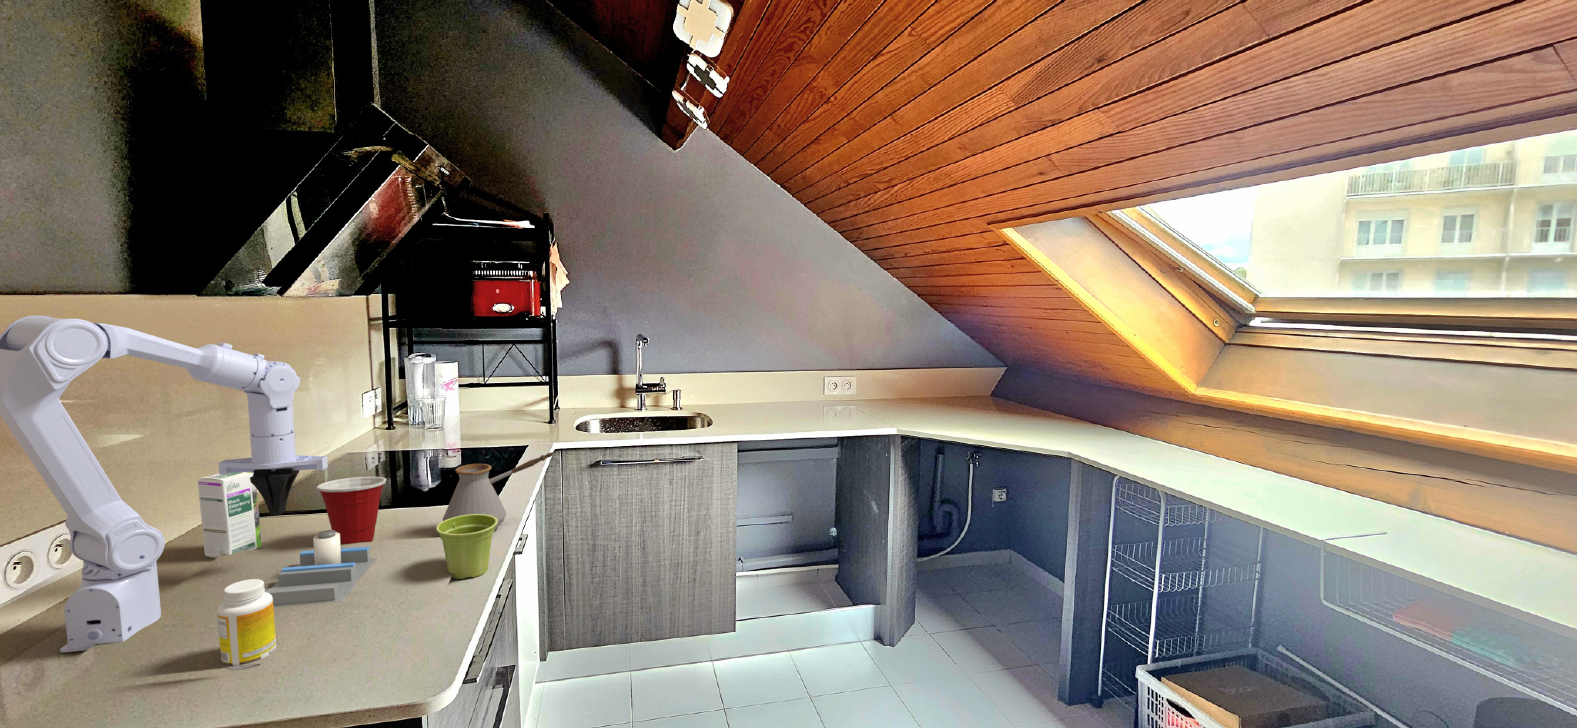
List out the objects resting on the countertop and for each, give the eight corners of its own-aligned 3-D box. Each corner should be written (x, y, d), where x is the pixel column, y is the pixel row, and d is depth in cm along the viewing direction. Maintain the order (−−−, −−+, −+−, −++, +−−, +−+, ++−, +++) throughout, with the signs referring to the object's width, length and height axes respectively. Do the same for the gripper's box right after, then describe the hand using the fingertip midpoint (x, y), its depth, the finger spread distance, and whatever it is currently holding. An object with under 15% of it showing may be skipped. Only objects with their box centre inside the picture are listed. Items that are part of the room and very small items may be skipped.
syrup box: (230, 560, 113) (223, 479, 112) (203, 556, 115) (196, 476, 113) (262, 547, 119) (257, 470, 117) (236, 544, 120) (230, 468, 118)
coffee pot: (440, 544, 123) (437, 467, 121) (445, 523, 133) (443, 452, 131) (559, 530, 131) (558, 458, 129) (555, 512, 142) (554, 445, 140)
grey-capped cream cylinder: (336, 574, 107) (334, 535, 106) (311, 576, 106) (309, 537, 105) (345, 565, 111) (343, 527, 110) (320, 566, 110) (318, 529, 109)
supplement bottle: (286, 647, 88) (282, 575, 87) (257, 671, 82) (252, 595, 81) (242, 648, 87) (236, 576, 86) (209, 673, 82) (203, 596, 80)
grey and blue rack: (341, 607, 99) (340, 586, 98) (248, 615, 96) (246, 594, 95) (377, 563, 114) (376, 545, 114) (298, 568, 111) (297, 550, 110)
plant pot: (510, 564, 115) (509, 517, 114) (471, 588, 106) (469, 537, 105) (466, 557, 118) (465, 511, 117) (424, 579, 109) (422, 529, 108)
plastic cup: (396, 529, 129) (393, 470, 128) (380, 550, 119) (377, 487, 118) (332, 534, 126) (329, 474, 125) (310, 556, 116) (306, 491, 114)
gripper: (333, 426, 112) (337, 502, 114) (233, 429, 108) (239, 507, 110) (315, 436, 105) (320, 516, 107) (208, 439, 102) (215, 522, 103)
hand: (277, 513), depth 108 cm, fingers closed
